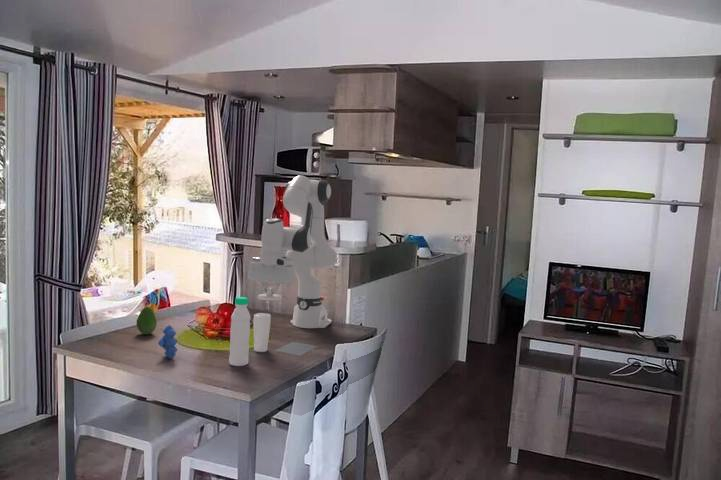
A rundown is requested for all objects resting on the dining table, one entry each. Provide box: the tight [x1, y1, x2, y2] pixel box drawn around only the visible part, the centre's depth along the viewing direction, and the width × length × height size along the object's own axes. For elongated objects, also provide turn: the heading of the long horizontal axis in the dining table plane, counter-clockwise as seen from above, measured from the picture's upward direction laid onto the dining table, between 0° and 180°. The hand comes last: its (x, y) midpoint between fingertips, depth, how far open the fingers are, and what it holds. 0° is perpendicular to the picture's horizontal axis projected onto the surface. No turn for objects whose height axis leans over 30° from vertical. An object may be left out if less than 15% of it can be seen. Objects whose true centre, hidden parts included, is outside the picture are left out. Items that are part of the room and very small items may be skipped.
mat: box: [273, 341, 318, 357], centre depth 227 cm, size 16×12×1 cm
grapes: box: [157, 324, 178, 360], centre depth 205 cm, size 12×7×12 cm, turn 35°
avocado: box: [136, 306, 157, 336], centre depth 235 cm, size 8×8×12 cm
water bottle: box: [228, 296, 251, 367], centre depth 203 cm, size 7×7×25 cm
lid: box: [257, 286, 283, 302], centre depth 220 cm, size 10×10×4 cm
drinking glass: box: [252, 312, 272, 353], centre depth 221 cm, size 7×7×15 cm
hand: (269, 293), depth 220 cm, fingers closed on lid, 3 cm apart
